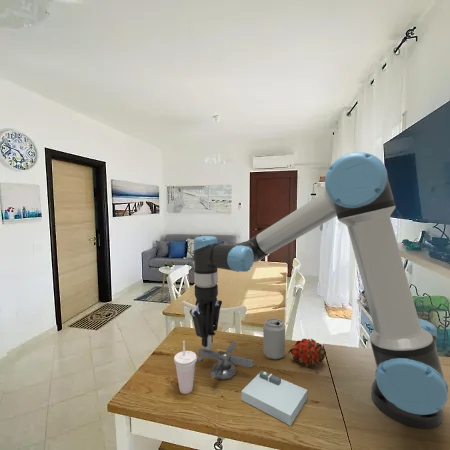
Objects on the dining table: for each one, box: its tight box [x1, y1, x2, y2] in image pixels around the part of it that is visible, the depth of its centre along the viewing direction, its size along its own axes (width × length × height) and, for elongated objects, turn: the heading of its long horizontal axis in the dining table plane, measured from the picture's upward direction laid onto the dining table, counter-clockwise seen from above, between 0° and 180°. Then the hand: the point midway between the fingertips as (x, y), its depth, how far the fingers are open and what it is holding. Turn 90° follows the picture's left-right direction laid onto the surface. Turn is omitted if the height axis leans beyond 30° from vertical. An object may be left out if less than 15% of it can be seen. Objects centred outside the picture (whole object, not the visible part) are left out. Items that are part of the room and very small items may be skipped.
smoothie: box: [173, 340, 198, 395], centre depth 75 cm, size 6×6×14 cm
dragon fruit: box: [288, 338, 327, 367], centre depth 88 cm, size 8×8×12 cm
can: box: [262, 317, 286, 360], centre depth 92 cm, size 8×8×12 cm
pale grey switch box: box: [240, 370, 308, 427], centre depth 71 cm, size 14×11×4 cm
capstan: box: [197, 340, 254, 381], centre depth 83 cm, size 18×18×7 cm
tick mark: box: [196, 356, 204, 362], centre depth 90 cm, size 2×2×1 cm
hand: (207, 354), depth 87 cm, fingers closed
